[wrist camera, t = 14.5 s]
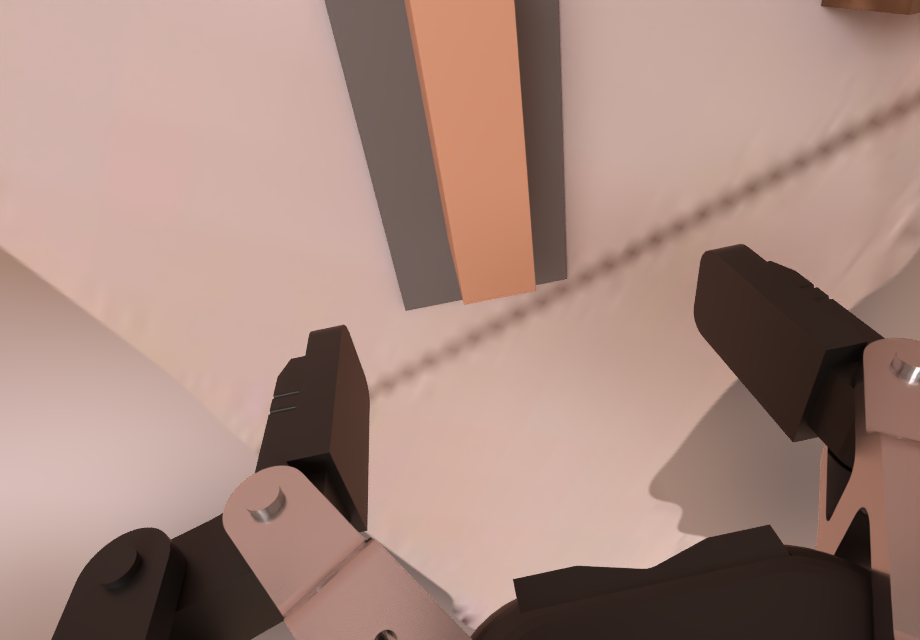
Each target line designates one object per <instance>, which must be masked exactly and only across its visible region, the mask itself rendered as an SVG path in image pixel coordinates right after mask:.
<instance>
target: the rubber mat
mask: <svg viewBox="0 0 920 640" xmlns="http://www.w3.org/2000/svg"><path fill="white" fill-rule="evenodd" d="M325 3H326V7H327V11H328V15H329V19H330V23H331V26H332V30H333V34H334V38H335V42H336V46H337V49H338V53H339V57H340V61H341V65H342V69H343V72H344V76H345V80H346V84H347V88H348V92H349V95H350V99H351V103H352V107H353V111H354V115H355V118H356V122H357V126H358V130H359V134H360V138H361V141H362V145H363V149H364V153H365V157H366V161H367V164H368V168H369V172H370V176H371V180H372V184H373V187H374V191H375V195H376V199H377V203H378V207H379V210H380V214H381V218H382V222H383V226H384V229H385V233H386V237H387V241H388V245H389V249H390V252H391V256H392V260H393V264H394V268H395V272H396V275H397V279H398V283H399V287H400V291H401V295H402V298H403V302H404V306H405V310H406V311H407V310H412V309H417V308H422V307H427V306H432V305H437V304H442V303H447V302H453V301H458V300H463V298H462V294H461V290H460V286H459V282H458V278H457V274H456V270H455V266H454V262H453V258H452V253H451V249H450V245H449V241H448V236H447V231H446V225H445V220H444V215H443V209H442V204H441V198H440V193H439V187H438V182H437V176H436V171H435V165H434V160H433V155H432V149H431V144H430V138H429V133H428V127H427V122H426V116H425V111H424V106H423V100H422V95H421V89H420V84H419V78H418V73H417V67H416V62H415V57H414V51H413V46H412V40H411V35H410V29H409V24H408V18H407V13H406V8H405V2H404V0H325ZM514 5H515V18H516V31H517V45H518V58H519V71H520V85H521V98H522V111H523V125H524V138H525V151H526V165H527V178H528V191H529V205H530V218H531V231H532V245H533V258H534V271H535V285H538V284H543V283H548V282H553V281H558V280H564V279H567V264H566V231H565V198H564V165H563V132H562V99H561V66H560V33H559V1H558V0H514Z"/></svg>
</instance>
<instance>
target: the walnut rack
mask: <svg viewBox="0 0 920 640" xmlns="http://www.w3.org/2000/svg"><path fill="white" fill-rule="evenodd" d="M821 6H830V7H840V8H850V9H859V10H869V11H879V12H889V13H898V14H908V15H910V14H915V13H920V0H822V4H821Z"/></svg>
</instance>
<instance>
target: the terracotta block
mask: <svg viewBox="0 0 920 640" xmlns="http://www.w3.org/2000/svg"><path fill="white" fill-rule="evenodd" d="M404 2H405V8H406V13H407V18H408V24H409V29H410V35H411V40H412V46H413V51H414V57H415V62H416V67H417V73H418V78H419V84H420V89H421V95H422V100H423V106H424V111H425V116H426V122H427V127H428V133H429V138H430V144H431V149H432V155H433V160H434V165H435V171H436V176H437V182H438V187H439V193H440V198H441V204H442V209H443V215H444V220H445V225H446V231H447V236H448V241H449V245H450V249H451V253H452V258H453V262H454V266H455V270H456V274H457V278H458V282H459V286H460V290H461V294H462V298H463V302H464V305H466V304H471V303H476V302H481V301H486V300H491V299H496V298H501V297H506V296H511V295H516V294H521V293H526V292H531V291H536V285H535V271H534V258H533V245H532V231H531V218H530V205H529V191H528V178H527V165H526V151H525V138H524V125H523V111H522V98H521V85H520V71H519V58H518V45H517V31H516V18H515V5H514V0H404Z"/></svg>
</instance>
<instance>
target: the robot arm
mask: <svg viewBox="0 0 920 640" xmlns="http://www.w3.org/2000/svg"><path fill="white" fill-rule="evenodd" d="M694 318H695V322H696V325H697V328H698V330H699V332H700V333H701V335H702V336H703V337H704V338H705V340H706V341H707V342H708V343H709V344H710V346H711V347H712V348H713V349H714V350H715V351H716V353H717V354H718V355H719V356H720V357H721V358H722V360H723V361H724V362H725V363H726V364H727V365H728V367H729V368H730V369H731V370H732V371H733V372H734V374H735V375H736V376H737V377H738V378H739V380H740V381H741V382H742V383H743V384H744V385H745V387H746V388H747V389H748V390H749V391H750V392H751V394H752V395H753V396H754V397H755V398H756V399H757V401H758V402H759V403H760V404H761V405H762V406H763V408H764V409H765V410H766V411H767V412H768V413H769V415H770V416H771V417H772V418H773V419H774V420H775V422H776V423H777V424H778V425H779V426H780V428H781V429H782V430H783V431H784V432H785V434H786V435H787V436H788V437H789V438H790V439H791V441H792V442H797V441H802V440H807V439H811V438H816V437H819V438H820V439H821V440H822V441H823V442H824V443H825V446H824V449H823V451H822V454H821V467H820V468H821V469H820V493H819V520H818V536H817V542H816V546H815V550H814V549H810V548H805V547H799V546H792V545H783V543H782V542H781V540H780V539H779V537H778V536H777V534H776V533H775V531H774V530H773V529H772V527H771V526H770V525H766V526H761V527H756V528H752V529H747V530H742V531H737V532H733V533H728V534H723V535H719V536H714V537H709V538H706V539H704V540H702V541H701V542H699V543H697V544H695V545H693V546H691V547H690V548H688V549H686V550H684V551H682V552H680V553H679V554H677V555H675V556H673V557H671V558H669V559H668V560H666V561H664V562H662V563H660V564H658V565H657V566H654V567H652V568H648V569H633V568H612V567H591V566H573V567H569V568H564V569H559V570H555V571H550V572H545V573H541V574H536V575H531V576H526V577H522V578H517V579H513V581H514V587H515V592H516V597H517V598H516V599H515V600H513V601H511V602H509V603H507V604H505V605H504V606H502V607H501V608H500V609H498V610H497V611H496V612H494V613H493V614H491V615H490V616H489V617H488V618H487V619H486V620H485V621H484V622H483V623H482V624H481V625H480V626H479V627H478V628H477V629H476V630H475V632H474V633H473V634H472V635H471V637H470V636H469V635H467V633H465V631H463V629H462V628H461V627H460V626H459V625H458V624H457V623H456V622H455V621H454V620H453V619H452V618H451V617H450V616H449V615H448V614H447V613H446V612H445V611H444V610H443V609H442V608H441V607H440V606H439V604H438V603H437V602H435V600H434V599H432V597H431V596H430V595H429V594H428V593H427V592H426V591H425V590H424V589H423V588H422V587H421V586H420V585H419V584H418V583H417V582H416V581H415V580H414V579H413V578H412V577H411V576H410V575H409V573H407V571H406V570H405V569H403V567H402V566H401V565H400V564H399V563H398V562H397V561H396V560H395V559H394V558H393V557H392V556H391V555H390V554H389V553H388V552H387V551H386V550H385V549H384V548H383V547H382V546H381V545H380V544H379V543H378V542H377V541H375V540H374V539H372V538H369V539H368V540H366V539H365V538H363V537H362V536H361V535H360V534H359V532H363V531H367V515H368V463H369V411H370V400H369V391H368V385H367V381H366V377H365V374H364V372H363V369H362V366H361V363H360V361H359V358H358V355H357V353H356V350H355V347H354V344H353V342H352V339H351V336H350V333H349V331H348V329H347V327H346V326H345V325H340V326H335V327H331V328H326V329H321V330H316V331H311V332H310V334H309V339H308V344H307V350H306V355H305V356H303V357H298V358H293V359H291V360H290V361H289V362H288V364H287V365H286V366H285V368H284V369H283V371H282V372H281V373H280V375H279V376H278V378H277V382H276V387H275V391H274V395H273V396H274V399H272V403H271V408H270V415H269V416H268V420H267V424H266V429H265V433H264V437H263V441H262V445H261V450H260V454H259V458H258V462H257V466H256V470H255V474H253V475H252V476H250V477H249V478H247V479H246V480H245V481H243V482H242V483H241V484H240V485H239V486H238V487H237V488H236V489H235V490H234V492H233V493H232V494H231V496H230V497H229V499H228V501H227V503H226V505H225V508H224V512H223V513H222V514H221V515H219V516H217V517H215V518H214V519H212V520H210V521H208V522H206V523H204V524H202V525H200V526H198V527H196V528H194V529H192V530H190V531H188V532H185V533H184V534H181V535H179V536H177V537H175V538H173V539H170V538H169V537H168V536H167V535H166V534H165V533H164V532H162V531H161V530H159V529H156V528H140V529H136V530H133V531H130V532H128V533H125V534H123V535H121V536H119V537H118V538H116V539H114V540H113V541H111V542H110V543H109V544H107V545H106V546H105V547H103V548H102V549H101V550H100V551H99V552H98V553H97V554H96V555H95V556H94V557H93V558H92V559H91V560H90V561H89V563H88V564H87V565H86V566H85V568H84V569H83V570H82V572H81V574H80V575H79V577H78V579H77V581H76V584H75V586H74V588H73V590H72V593H71V595H70V597H69V600H68V602H67V604H66V607H65V609H64V612H63V614H62V616H61V619H60V621H59V623H58V625H57V628H56V630H55V633H54V635H53V637H52V640H251V639H252V638H254V637H256V636H258V635H259V634H261V633H263V632H265V631H266V630H268V629H270V628H272V627H273V626H275V625H277V624H279V623H280V622H282V621H284V622H285V623H286V625H287V626H288V628H289V630H290V631H291V633H292V634H293V635H294V637H295V638H296V640H920V341H918V340H913V339H905V338H886V339H885V338H884V337H882V336H881V335H880V334H878V333H877V332H876V331H874V330H873V329H871V328H870V327H869V326H868V325H866V324H865V323H864V322H862V321H861V320H860V319H858V318H857V317H856V316H854V315H853V314H852V313H850V312H849V311H848V310H846V309H845V308H844V307H843V306H841V305H840V304H839V303H837V302H836V301H835V300H833V299H829V296H828V295H827V294H825V293H824V292H823V291H821V290H820V289H819V288H814V285H813V284H812V283H811V282H809V281H808V280H807V279H805V278H804V277H803V276H801V275H800V274H799V273H798V272H796V271H794V270H792V269H789V268H787V267H784V266H782V265H779V264H777V263H774V262H772V261H768V262H766V261H765V260H764V259H763V258H761V257H760V256H759V255H758V254H756V253H755V252H754V251H753V250H751V249H750V248H749V247H747V246H746V245H743V244H738V245H733V246H729V247H724V248H719V249H714V250H709V251H706V252H705V253H704V254H703V255H702V258H701V262H700V268H699V275H698V282H697V289H696V296H695V303H694Z"/></svg>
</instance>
